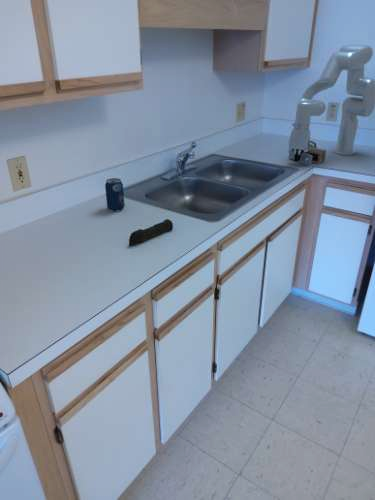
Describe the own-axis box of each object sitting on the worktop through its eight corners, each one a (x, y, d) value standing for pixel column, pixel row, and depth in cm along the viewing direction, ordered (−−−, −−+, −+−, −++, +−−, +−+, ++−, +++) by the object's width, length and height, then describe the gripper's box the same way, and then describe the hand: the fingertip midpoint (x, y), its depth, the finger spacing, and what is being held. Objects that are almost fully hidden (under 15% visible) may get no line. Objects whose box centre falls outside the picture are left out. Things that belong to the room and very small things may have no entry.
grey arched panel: (318, 153, 233) (318, 138, 226) (315, 157, 231) (315, 143, 224) (292, 149, 242) (292, 134, 236) (289, 153, 240) (288, 138, 233)
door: (289, 157, 223) (291, 148, 220) (311, 165, 210) (312, 155, 207) (286, 157, 222) (288, 148, 220) (307, 165, 209) (309, 156, 206)
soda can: (125, 211, 155) (123, 182, 149) (107, 212, 154) (104, 184, 148) (124, 205, 161) (122, 177, 155) (107, 206, 160) (104, 178, 154)
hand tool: (166, 227, 143) (165, 215, 141) (173, 230, 141) (173, 219, 138) (124, 244, 131) (123, 232, 129) (132, 248, 129) (130, 236, 127)
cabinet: (296, 155, 229) (297, 145, 226) (324, 160, 220) (326, 150, 217) (290, 158, 223) (291, 148, 220) (319, 164, 214) (321, 152, 211)
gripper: (285, 126, 204) (281, 160, 213) (312, 129, 196) (307, 165, 205) (291, 123, 210) (287, 157, 219) (318, 127, 202) (312, 162, 211)
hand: (296, 161), depth 212 cm, fingers closed
